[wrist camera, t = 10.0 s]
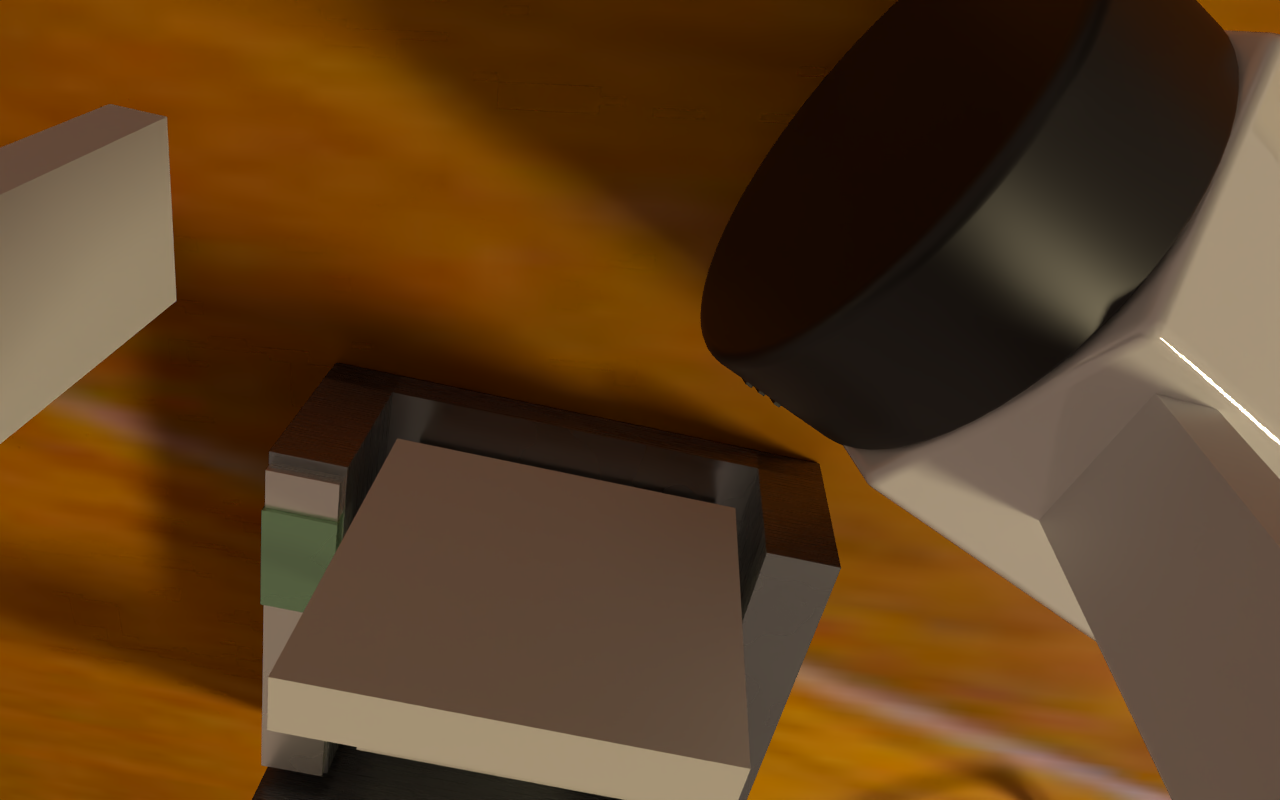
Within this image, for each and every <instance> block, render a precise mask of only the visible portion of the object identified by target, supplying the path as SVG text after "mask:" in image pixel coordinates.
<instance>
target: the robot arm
mask: <svg viewBox="0 0 1280 800" xmlns="http://www.w3.org/2000/svg"><path fill="white" fill-rule="evenodd" d="M176 301H177V300H176V281H175V262H174V243H173V224H172V205H171V186H170V166H169V147H168V128H167V117H165V116H161V115H156V114H152V113H148V112H143V111H139V110H135V109H130V108H126V107H121V106H117V105H113V104H108V105H106V106H103V107H101V108H98V109H96V110H93V111H91V112H88V113H86V114H83V115H81V116H78V117H76V118H73V119H71V120H68V121H66V122H63V123H61V124H59V125H56V126H54V127H51V128H49V129H46V130H44V131H41V132H39V133H36V134H34V135H31V136H29V137H26V138H24V139H21V140H19V141H16V142H14V143H11V144H9V145H6V146H4V147H1V148H0V444H1V443H2V442H3V441H4V440H6V439H7V438H8V437H9V436H10V435H12V434H13V433H14V432H15V431H17V430H18V429H19V428H20V427H22V426H23V425H24V424H25V423H26V422H28V421H29V420H30V419H31V418H33V417H34V416H35V415H36V414H38V413H39V412H40V411H41V410H43V409H44V408H45V407H46V406H47V405H49V404H50V403H51V402H52V401H54V400H55V399H56V398H57V397H59V396H60V395H61V394H62V393H63V392H65V391H66V390H67V389H68V388H70V387H71V386H72V385H73V384H75V383H76V382H77V381H78V380H79V379H81V378H82V377H83V376H84V375H86V374H87V373H88V372H89V371H91V370H92V369H93V368H94V367H95V366H97V365H98V364H99V363H100V362H102V361H103V360H104V359H105V358H107V357H108V356H109V355H110V354H112V353H113V352H114V351H115V350H116V349H118V348H119V347H120V346H121V345H123V344H124V343H125V342H126V341H128V340H129V339H130V338H131V337H132V336H134V335H135V334H136V333H137V332H139V331H140V330H141V329H142V328H144V327H145V326H146V325H147V324H148V323H150V322H151V321H152V320H153V319H155V318H156V317H157V316H158V315H160V314H161V313H162V312H163V311H164V310H166V309H167V308H168V307H169V306H171V305H172V304H173V303H174V302H176ZM1039 522H1040V524H1041V526H1042V528H1043V530H1044V532H1045V534H1046V537H1047V539H1048V541H1049V543H1050V545H1051V547H1052V549H1053V551H1054V553H1055V555H1056V558H1057V560H1058V562H1059V564H1060V566H1061V568H1062V570H1063V572H1064V574H1065V576H1066V579H1067V581H1068V583H1069V585H1070V587H1071V589H1072V591H1073V593H1074V595H1075V597H1076V600H1077V602H1078V604H1079V606H1080V608H1081V610H1082V612H1083V614H1084V616H1085V618H1086V621H1087V623H1088V625H1089V627H1090V629H1091V631H1092V633H1093V635H1094V637H1095V639H1096V642H1097V644H1098V646H1099V648H1100V650H1101V652H1102V654H1103V656H1104V658H1105V660H1106V663H1107V665H1108V667H1109V669H1110V671H1111V673H1112V675H1113V677H1114V679H1115V681H1116V683H1117V686H1118V688H1119V690H1120V692H1121V694H1122V696H1123V698H1124V700H1125V702H1126V704H1127V707H1128V709H1129V711H1130V713H1131V715H1132V717H1133V719H1134V721H1135V723H1136V725H1137V728H1138V730H1139V732H1140V734H1141V736H1142V738H1143V740H1144V742H1145V744H1146V746H1147V749H1148V751H1149V753H1150V755H1151V757H1152V759H1153V761H1154V763H1155V765H1156V767H1157V770H1158V772H1159V774H1160V776H1161V778H1162V780H1163V782H1164V784H1165V786H1166V788H1167V791H1168V793H1169V795H1170V797H1171V799H1172V800H1280V479H1279V478H1278V477H1277V476H1276V474H1275V473H1274V472H1273V471H1272V470H1271V469H1270V468H1269V467H1268V466H1267V464H1266V463H1265V462H1264V461H1263V460H1262V459H1261V458H1260V457H1259V455H1258V454H1257V453H1256V452H1255V451H1254V450H1253V449H1252V448H1251V447H1250V445H1249V444H1248V443H1247V442H1246V441H1245V440H1244V439H1243V438H1242V437H1241V435H1240V434H1239V433H1238V432H1237V431H1236V430H1235V429H1234V428H1233V426H1232V425H1231V424H1230V423H1229V422H1228V421H1227V420H1226V419H1225V418H1224V416H1223V415H1222V414H1221V413H1220V412H1219V411H1218V410H1217V409H1213V408H1209V407H1206V406H1202V405H1198V404H1194V403H1190V402H1187V401H1183V400H1179V399H1175V398H1172V397H1168V396H1164V395H1160V394H1156V393H1155V394H1154V395H1153V396H1152V397H1151V398H1150V400H1149V401H1148V402H1147V403H1146V404H1145V405H1144V406H1143V407H1142V408H1141V409H1140V411H1139V412H1138V413H1137V414H1136V415H1135V416H1134V417H1133V418H1132V419H1131V420H1130V421H1129V423H1128V424H1127V425H1126V426H1125V427H1124V428H1123V429H1122V430H1121V431H1120V432H1119V433H1118V435H1117V436H1116V437H1115V438H1114V439H1113V440H1112V441H1111V442H1110V443H1109V444H1108V445H1107V447H1106V448H1105V449H1104V450H1103V451H1102V452H1101V453H1100V454H1099V455H1098V456H1097V457H1096V459H1095V460H1094V461H1093V462H1092V463H1091V464H1090V465H1089V466H1088V467H1087V468H1086V469H1085V471H1084V472H1083V473H1082V474H1081V475H1080V476H1079V477H1078V478H1077V479H1076V480H1075V481H1074V483H1073V484H1072V485H1071V486H1070V487H1069V488H1068V489H1067V490H1066V491H1065V492H1064V493H1063V495H1062V496H1061V497H1060V498H1059V499H1058V500H1057V501H1056V502H1055V503H1054V504H1053V506H1052V507H1051V508H1050V509H1049V510H1048V511H1047V512H1046V513H1045V514H1044V515H1043V516H1042V518H1041V519H1040V520H1039Z"/></svg>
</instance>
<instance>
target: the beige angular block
mask: <svg viewBox="0 0 1280 800" xmlns="http://www.w3.org/2000/svg"><path fill="white" fill-rule="evenodd" d="M267 730H269V731H274V732H280V733H285V734H290V735H296V736H301V737H306V738H312V739H317V740H322V741H328V742H333V743H338V744H344V745H349V746H354V747H357V749H356V750H361V751H367V752H372V753H377V754H383V755H388V756H393V757H399V758H404V759H409V760H415V761H420V762H425V763H431V764H436V765H441V766H447V767H452V768H457V769H463V770H468V771H473V772H479V773H484V774H489V775H495V776H500V777H505V778H511V779H516V780H521V781H527V782H532V783H537V784H543V785H548V786H553V787H559V788H564V789H569V790H575V791H580V792H585V793H591V794H596V795H601V796H607V797H612V798H617V799H623V800H738V799H739V797H740V794H741V792H742V789H743V787H744V784H745V782H746V779H747V777H748V774H749V772H750V769H751V766H750V749H749V732H748V715H747V698H746V681H745V664H744V646H743V629H742V612H741V595H740V578H739V561H738V544H737V527H736V510H735V508H733V507H728V506H723V505H718V504H713V503H708V502H704V501H699V500H694V499H689V498H684V497H679V496H674V495H670V494H665V493H660V492H655V491H650V490H645V489H640V488H636V487H631V486H626V485H621V484H616V483H611V482H606V481H602V480H597V479H592V478H587V477H582V476H577V475H572V474H568V473H563V472H558V471H553V470H548V469H543V468H538V467H534V466H529V465H524V464H519V463H514V462H509V461H504V460H500V459H495V458H490V457H485V456H480V455H475V454H470V453H466V452H461V451H456V450H451V449H446V448H441V447H436V446H432V445H427V444H422V443H417V442H412V441H407V440H402V439H398V438H397V440H396V442H395V443H394V445H393V447H392V449H391V451H390V453H389V455H388V456H387V458H386V460H385V462H384V464H383V466H382V468H381V469H380V471H379V473H378V475H377V477H376V479H375V480H374V482H373V484H372V486H371V488H370V490H369V492H368V493H367V495H366V497H365V499H364V501H363V503H362V505H361V506H360V508H359V510H358V512H357V514H356V516H355V517H354V519H353V521H352V523H351V525H350V527H349V529H348V530H347V532H346V534H345V536H344V538H343V540H342V541H341V543H340V545H339V547H338V549H337V551H336V553H335V554H334V556H333V558H332V560H331V562H330V564H329V566H328V567H327V569H326V571H325V573H324V575H323V577H322V578H321V580H320V582H319V584H318V586H317V588H316V590H315V591H314V593H313V595H312V597H311V599H310V601H309V603H308V604H307V606H306V608H305V610H304V612H303V614H302V615H301V617H300V619H299V621H298V623H297V625H296V627H295V628H294V630H293V632H292V634H291V636H290V638H289V639H288V641H287V643H286V645H285V647H284V649H283V651H282V652H281V654H280V656H279V658H278V660H277V662H276V664H275V665H274V667H273V669H272V671H271V673H270V675H269V676H268V718H267Z"/></svg>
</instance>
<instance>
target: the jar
mask: <svg viewBox="0 0 1280 800" xmlns="http://www.w3.org/2000/svg"><path fill="white" fill-rule="evenodd" d="M701 329H702V334H703V337H704V340H705V343H706V345H707V348H708V349H709V351H710V352H711V354H712V355H713V356H714V357H715V358H716V359H717V360H718V361H719V362H720V363H721V364H723V365H724V366H726V367H727V368H728V369H730V370H731V371H733V372H734V373H736V374H737V375H738V376H740V377H741V378H742V379H743V381H744V382H745V384H746V385H748V386H749V387H751V388H752V386H754V387H755V388H756V390H757V391H758V393H760V394H761V395H763V396H764V395H765V394H766V395H767V396H769V397H770V399H771V401H772V402H773V403H774V404H775V405H776V406H778V407H780V406H783V407H784V408H786V409H787V410H789V411H790V412H791V413H793V414H794V415H796V416H797V417H799V418H800V419H802V420H803V421H804V422H806V423H807V424H809V425H810V426H812V427H813V428H814V429H816V430H817V431H819V432H820V433H822V434H823V435H824V436H826V437H828V438H829V439H831V440H833V441H835V442H837V443H839V444H841V445H843V446H844V448H845V449H846V451H847V452H848V454H849V455H850V457H851V459H852V460H853V462H854V463H855V465H856V466H857V468H858V469H859V471H860V472H861V474H862V476H863V477H864V479H865V480H866V482H867V483H868V484H869V485H870V486H871V487H872V488H874V489H875V490H877V491H878V492H880V493H881V494H883V495H884V496H885V497H887V498H888V499H890V500H891V501H893V502H894V503H896V504H897V505H898V506H900V507H901V508H903V509H904V510H906V511H907V512H909V513H910V514H912V515H913V516H914V517H916V518H917V519H919V520H920V521H922V522H923V523H925V524H926V525H927V526H929V527H930V528H932V529H933V530H935V531H936V532H938V533H939V534H941V535H942V536H943V537H945V538H946V539H948V540H949V541H951V542H952V543H954V544H955V545H956V546H958V547H959V548H961V549H962V550H964V551H965V552H967V553H968V554H970V555H971V556H972V557H974V558H975V559H977V560H978V561H980V562H981V563H983V564H984V565H986V566H987V567H988V568H990V569H991V570H993V571H994V572H996V573H997V574H999V575H1000V576H1001V577H1003V578H1004V579H1006V580H1007V581H1009V582H1010V583H1012V584H1013V585H1015V586H1016V587H1017V588H1019V589H1020V590H1022V591H1023V592H1025V593H1026V594H1028V595H1029V596H1030V597H1032V598H1033V599H1035V600H1036V601H1038V602H1039V603H1041V604H1042V605H1044V606H1045V607H1046V608H1048V609H1049V610H1051V611H1052V612H1054V613H1055V614H1057V615H1058V616H1059V617H1061V618H1062V619H1064V620H1065V621H1067V622H1068V623H1070V624H1071V625H1073V626H1074V627H1075V628H1077V629H1078V630H1080V631H1081V632H1083V633H1084V634H1086V635H1087V636H1089V637H1090V638H1091V639H1093V640H1094V641H1096V639H1095V637H1094V635H1093V633H1092V631H1091V629H1090V627H1089V625H1088V623H1087V621H1086V618H1085V616H1084V614H1083V612H1082V610H1081V608H1080V606H1079V604H1078V602H1077V600H1076V597H1075V595H1074V593H1073V591H1072V589H1071V587H1070V585H1069V583H1068V581H1067V579H1066V576H1065V574H1064V572H1063V570H1062V568H1061V566H1060V564H1059V562H1058V560H1057V558H1056V555H1055V553H1054V551H1053V549H1052V547H1051V545H1050V543H1049V541H1048V539H1047V537H1046V534H1045V532H1044V530H1043V528H1042V526H1041V524H1040V522H1039V520H1040V519H1041V518H1042V516H1043V515H1044V514H1045V513H1046V512H1047V511H1048V510H1049V509H1050V508H1051V507H1052V506H1053V504H1054V503H1055V502H1056V501H1057V500H1058V499H1059V498H1060V497H1061V496H1062V495H1063V493H1064V492H1065V491H1066V490H1067V489H1068V488H1069V487H1070V486H1071V485H1072V484H1073V483H1074V481H1075V480H1076V479H1077V478H1078V477H1079V476H1080V475H1081V474H1082V473H1083V472H1084V471H1085V469H1086V468H1087V467H1088V466H1089V465H1090V464H1091V463H1092V462H1093V461H1094V460H1095V459H1096V457H1097V456H1098V455H1099V454H1100V453H1101V452H1102V451H1103V450H1104V449H1105V448H1106V447H1107V445H1108V444H1109V443H1110V442H1111V441H1112V440H1113V439H1114V438H1115V437H1116V436H1117V435H1118V433H1119V432H1120V431H1121V430H1122V429H1123V428H1124V427H1125V426H1126V425H1127V424H1128V423H1129V421H1130V420H1131V419H1132V418H1133V417H1134V416H1135V415H1136V414H1137V413H1138V412H1139V411H1140V409H1141V408H1142V407H1143V406H1144V405H1145V404H1146V403H1147V402H1148V401H1149V400H1150V398H1151V397H1152V396H1153V395H1154V394H1155V393H1156V394H1160V395H1164V396H1168V397H1172V398H1175V399H1179V400H1183V401H1187V402H1190V403H1194V404H1198V405H1202V406H1206V407H1209V408H1213V409H1217V410H1218V411H1219V412H1220V413H1221V414H1222V415H1223V416H1224V418H1225V419H1226V420H1227V421H1228V422H1229V423H1230V424H1231V425H1232V426H1233V428H1234V429H1235V430H1236V431H1237V432H1238V433H1239V434H1240V435H1241V437H1242V438H1243V439H1244V440H1245V441H1246V442H1247V443H1248V444H1249V445H1250V447H1251V448H1252V449H1253V450H1254V451H1255V452H1256V453H1257V454H1258V455H1259V457H1260V458H1261V459H1262V460H1263V461H1264V462H1265V463H1266V464H1267V466H1268V467H1269V468H1270V469H1271V470H1272V471H1273V472H1274V473H1275V474H1276V476H1277V477H1278V478H1279V479H1280V35H1279V34H1276V33H1268V32H1247V31H1226V30H1223V29H1222V27H1221V26H1220V25H1219V24H1218V23H1217V22H1216V21H1215V20H1214V19H1213V18H1212V17H1211V15H1210V14H1209V13H1208V12H1207V11H1206V10H1205V9H1204V8H1203V7H1202V6H1201V5H1200V4H1199V3H1198V2H1197V1H1196V0H898V1H897V2H896V3H895V4H894V5H893V6H892V7H891V8H890V9H889V10H888V11H886V12H885V13H884V14H883V15H882V16H881V17H880V18H879V19H878V20H877V21H876V22H875V23H874V24H873V25H872V26H871V27H870V28H869V30H868V31H867V32H866V33H865V34H864V35H863V36H862V37H861V38H860V39H859V40H858V41H857V42H856V43H855V44H854V45H853V47H852V48H851V49H850V50H849V51H848V52H847V53H846V54H845V55H844V57H843V58H842V59H841V60H840V61H839V62H838V63H837V64H836V66H835V67H834V68H833V69H832V70H831V71H830V73H829V74H828V75H827V76H826V77H825V78H824V80H823V81H822V82H821V83H820V85H819V86H818V87H817V88H816V89H815V91H814V92H813V93H812V94H811V96H810V97H809V98H808V99H807V101H806V102H805V103H804V105H803V106H802V107H801V108H800V110H799V111H798V112H797V114H796V115H795V116H794V118H793V119H792V120H791V122H790V123H789V124H788V126H787V127H786V128H785V130H784V131H783V133H782V134H781V136H780V137H779V138H778V140H777V141H776V143H775V144H774V146H773V147H772V149H771V150H770V152H769V153H768V155H767V156H766V158H765V159H764V161H763V162H762V164H761V165H760V167H759V168H758V170H757V172H756V173H755V175H754V176H753V178H752V180H751V181H750V183H749V185H748V187H747V188H746V190H745V192H744V193H743V195H742V197H741V199H740V201H739V202H738V204H737V206H736V208H735V210H734V212H733V214H732V216H731V218H730V220H729V222H728V224H727V226H726V228H725V230H724V232H723V234H722V237H721V239H720V241H719V243H718V246H717V249H716V251H715V254H714V256H713V259H712V262H711V265H710V268H709V271H708V274H707V278H706V282H705V286H704V291H703V296H702V304H701Z"/></svg>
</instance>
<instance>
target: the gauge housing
mask: <svg viewBox="0 0 1280 800" xmlns="http://www.w3.org/2000/svg"><path fill="white" fill-rule="evenodd" d="M397 438H398V439H402V440H407V441H412V442H417V443H422V444H427V445H432V446H436V447H441V448H446V449H451V450H456V451H461V452H466V453H470V454H475V455H480V456H485V457H490V458H495V459H500V460H504V461H509V462H514V463H519V464H524V465H529V466H534V467H538V468H543V469H548V470H553V471H558V472H563V473H568V474H572V475H577V476H582V477H587V478H592V479H597V480H602V481H606V482H611V483H616V484H621V485H626V486H631V487H636V488H640V489H645V490H650V491H655V492H660V493H665V494H670V495H674V496H679V497H684V498H689V499H694V500H699V501H704V502H708V503H713V504H718V505H723V506H728V507H733V508H735V510H736V527H737V544H738V561H739V578H740V595H741V612H742V629H743V646H744V664H745V681H746V698H747V715H748V732H749V749H750V766H751V769H750V772H749V774H748V777H747V779H746V782H745V784H744V787H743V789H742V792H741V794H740V797H739V799H738V800H747V797H748V795H749V793H750V790H751V788H752V785H753V783H754V780H755V778H756V775H757V773H758V770H759V768H760V765H761V763H762V761H763V758H764V756H765V753H766V751H767V748H768V746H769V743H770V741H771V738H772V736H773V734H774V731H775V729H776V726H777V724H778V721H779V719H780V716H781V714H782V711H783V709H784V707H785V704H786V702H787V699H788V697H789V694H790V692H791V689H792V687H793V684H794V682H795V679H796V677H797V675H798V672H799V670H800V667H801V665H802V662H803V660H804V657H805V655H806V652H807V650H808V648H809V645H810V643H811V640H812V638H813V635H814V633H815V630H816V628H817V625H818V623H819V620H820V618H821V616H822V613H823V611H824V608H825V606H826V603H827V601H828V598H829V596H830V593H831V591H832V589H833V586H834V584H835V581H836V579H837V576H838V574H839V571H840V569H841V566H840V561H839V556H838V551H837V546H836V542H835V537H834V532H833V527H832V522H831V518H830V513H829V508H828V503H827V498H826V493H825V489H824V484H823V479H822V474H821V469H820V464H818V463H813V462H808V461H804V460H799V459H794V458H789V457H785V456H780V455H775V454H770V453H765V452H761V451H756V450H751V449H746V448H742V447H737V446H732V445H727V444H722V443H718V442H713V441H708V440H703V439H699V438H694V437H689V436H684V435H680V434H675V433H670V432H665V431H660V430H656V429H651V428H646V427H641V426H637V425H632V424H627V423H622V422H617V421H613V420H608V419H603V418H598V417H594V416H589V415H584V414H579V413H575V412H570V411H565V410H560V409H555V408H551V407H546V406H541V405H536V404H532V403H527V402H522V401H517V400H512V399H508V398H503V397H498V396H493V395H489V394H484V393H479V392H474V391H470V390H465V389H460V388H455V387H450V386H446V385H441V384H436V383H431V382H427V381H422V380H417V379H412V378H407V377H403V376H398V375H393V374H388V373H384V372H379V371H374V370H369V369H365V368H360V367H355V366H350V365H345V364H341V363H335V365H334V366H333V367H332V369H331V370H330V371H329V373H328V374H327V375H326V377H325V378H324V379H323V381H322V382H321V383H320V385H319V386H318V387H317V389H316V390H315V391H314V392H313V394H312V395H311V396H310V398H309V399H308V400H307V402H306V403H305V404H304V406H303V407H302V408H301V410H300V411H299V412H298V414H297V415H296V416H295V418H294V419H293V420H292V422H291V423H290V424H289V426H288V427H287V428H286V430H285V431H284V432H283V434H282V435H281V436H280V438H279V439H278V440H277V442H276V443H275V444H274V446H273V447H272V448H271V450H270V451H269V466H268V467H267V469H266V470H265V506H264V507H263V509H262V513H261V601H260V604H261V605H264V616H263V690H262V764H261V765H263V766H268V768H267V770H266V772H265V774H264V776H263V778H262V780H261V782H260V784H259V786H258V788H257V790H256V792H255V794H254V796H253V798H252V800H623V799H617V798H612V797H607V796H601V795H596V794H591V793H585V792H580V791H575V790H569V789H564V788H559V787H553V786H548V785H543V784H537V783H532V782H527V781H521V780H516V779H511V778H505V777H500V776H495V775H489V774H484V773H479V772H473V771H468V770H463V769H457V768H452V767H447V766H441V765H436V764H431V763H425V762H420V761H415V760H409V759H404V758H399V757H393V756H388V755H383V754H377V753H372V752H367V751H361V750H356V749H357V747H354V746H349V745H344V744H338V743H333V742H328V741H322V740H317V739H312V738H306V737H301V736H296V735H290V734H285V733H280V732H274V731H269V730H267V718H268V676H269V675H270V673H271V671H272V669H273V667H274V665H275V664H276V662H277V660H278V658H279V656H280V654H281V652H282V651H283V649H284V647H285V645H286V643H287V641H288V639H289V638H290V636H291V634H292V632H293V630H294V628H295V627H296V625H297V623H298V621H299V619H300V617H301V615H302V614H303V612H304V610H305V608H306V606H307V604H308V603H309V601H310V599H311V597H312V595H313V593H314V591H315V590H316V588H317V586H318V584H319V582H320V580H321V578H322V577H323V575H324V573H325V571H326V569H327V567H328V566H329V564H330V562H331V560H332V558H333V556H334V554H335V553H336V551H337V549H338V547H339V545H340V543H341V541H342V540H343V538H344V536H345V534H346V532H347V530H348V529H349V527H350V525H351V523H352V521H353V519H354V517H355V516H356V514H357V512H358V510H359V508H360V506H361V505H362V503H363V501H364V499H365V497H366V495H367V493H368V492H369V490H370V488H371V486H372V484H373V482H374V480H375V479H376V477H377V475H378V473H379V471H380V469H381V468H382V466H383V464H384V462H385V460H386V458H387V456H388V455H389V453H390V451H391V449H392V447H393V445H394V443H395V442H396V440H397Z"/></svg>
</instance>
